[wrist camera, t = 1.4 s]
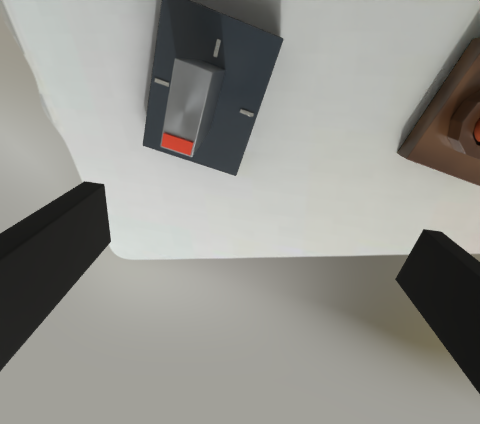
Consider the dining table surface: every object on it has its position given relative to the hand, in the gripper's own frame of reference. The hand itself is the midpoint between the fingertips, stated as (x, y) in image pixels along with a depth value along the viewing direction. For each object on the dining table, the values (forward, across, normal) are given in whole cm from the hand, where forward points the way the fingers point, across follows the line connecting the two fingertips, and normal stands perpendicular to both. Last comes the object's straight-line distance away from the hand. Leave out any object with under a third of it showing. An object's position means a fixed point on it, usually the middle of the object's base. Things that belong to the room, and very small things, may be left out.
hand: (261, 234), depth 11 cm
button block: (+21, +23, +6) cm, 32 cm away
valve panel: (+22, -6, +4) cm, 23 cm away
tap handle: (+19, -6, +3) cm, 20 cm away
